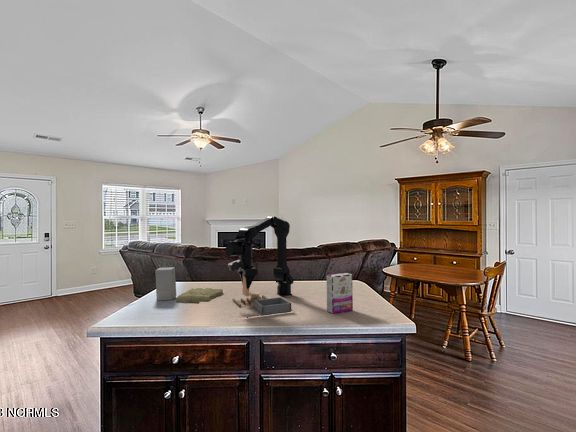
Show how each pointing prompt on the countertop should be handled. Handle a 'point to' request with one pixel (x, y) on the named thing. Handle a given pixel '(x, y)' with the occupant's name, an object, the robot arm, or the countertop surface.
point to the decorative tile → (199, 295)
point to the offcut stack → (254, 296)
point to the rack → (245, 302)
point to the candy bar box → (339, 293)
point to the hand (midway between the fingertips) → (245, 287)
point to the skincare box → (165, 283)
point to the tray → (272, 305)
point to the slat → (245, 288)
